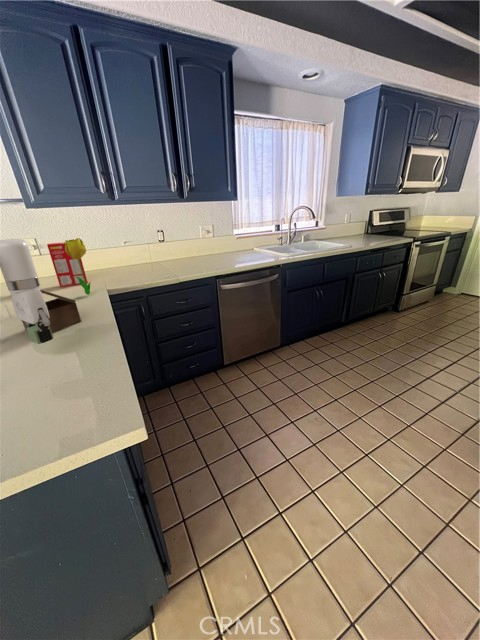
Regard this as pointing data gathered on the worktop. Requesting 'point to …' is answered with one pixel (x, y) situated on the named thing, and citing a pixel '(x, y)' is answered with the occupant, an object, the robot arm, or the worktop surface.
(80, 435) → the worktop surface
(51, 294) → the lid
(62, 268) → the food packaging
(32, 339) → the block
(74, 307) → the chest
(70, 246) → the flower
